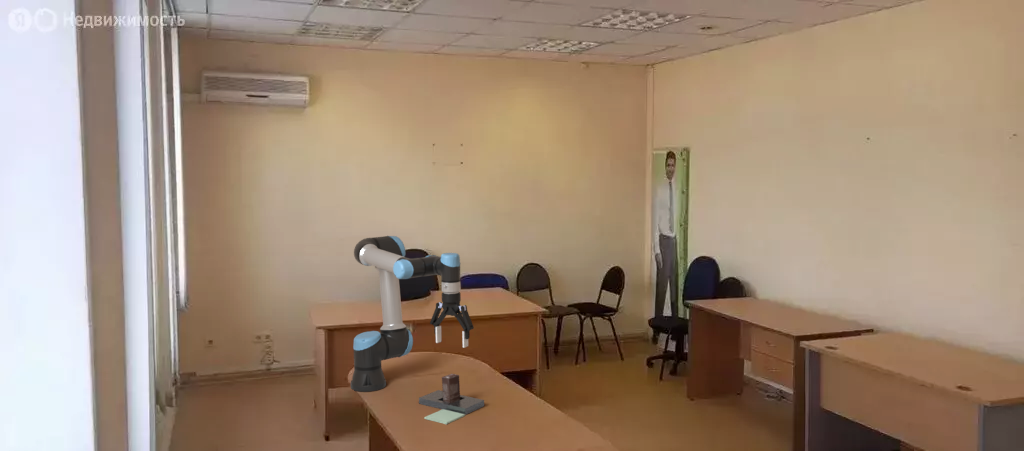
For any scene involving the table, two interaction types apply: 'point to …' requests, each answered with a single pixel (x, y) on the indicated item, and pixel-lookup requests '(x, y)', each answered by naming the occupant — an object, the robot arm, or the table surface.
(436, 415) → the pad
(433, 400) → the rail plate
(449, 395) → the box
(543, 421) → the table surface
